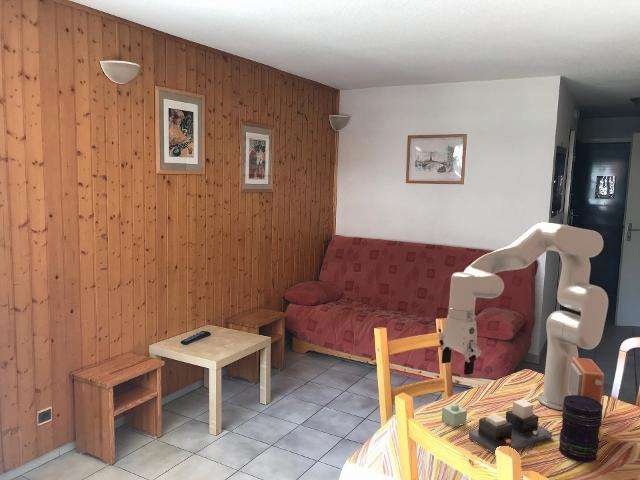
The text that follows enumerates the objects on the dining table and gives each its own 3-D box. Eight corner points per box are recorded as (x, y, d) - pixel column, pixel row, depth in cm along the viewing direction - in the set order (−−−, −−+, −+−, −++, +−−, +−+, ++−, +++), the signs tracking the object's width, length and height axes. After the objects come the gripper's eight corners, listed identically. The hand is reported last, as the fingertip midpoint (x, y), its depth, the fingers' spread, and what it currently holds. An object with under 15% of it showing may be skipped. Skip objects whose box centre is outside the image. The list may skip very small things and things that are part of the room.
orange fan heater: (585, 423, 166) (600, 447, 151) (561, 420, 167) (574, 444, 153) (592, 357, 163) (608, 376, 148) (568, 355, 164) (581, 373, 150)
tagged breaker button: (494, 429, 155) (495, 413, 155) (505, 435, 152) (506, 419, 151) (484, 432, 154) (485, 416, 153) (494, 439, 150) (496, 422, 149)
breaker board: (521, 422, 165) (522, 404, 164) (551, 438, 155) (553, 419, 154) (468, 438, 154) (470, 418, 153) (497, 456, 145) (499, 436, 144)
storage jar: (592, 446, 152) (597, 397, 149) (602, 465, 142) (608, 413, 140) (554, 441, 154) (559, 393, 152) (562, 459, 144) (567, 408, 142)
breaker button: (521, 414, 160) (522, 399, 160) (531, 420, 157) (533, 404, 156) (511, 417, 158) (513, 401, 158) (522, 423, 155) (524, 407, 154)
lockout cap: (454, 416, 167) (455, 400, 167) (465, 424, 163) (467, 406, 162) (441, 420, 165) (442, 403, 164) (453, 427, 160) (454, 410, 160)
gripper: (492, 320, 153) (487, 376, 156) (450, 305, 168) (446, 357, 171) (473, 322, 150) (468, 380, 152) (432, 307, 165) (428, 360, 167)
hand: (456, 368), depth 161 cm, fingers open, 9 cm apart
